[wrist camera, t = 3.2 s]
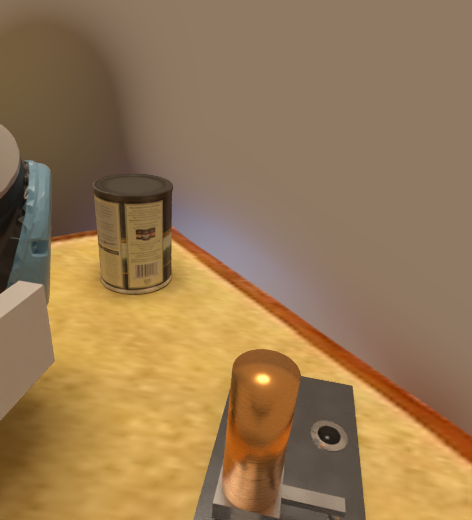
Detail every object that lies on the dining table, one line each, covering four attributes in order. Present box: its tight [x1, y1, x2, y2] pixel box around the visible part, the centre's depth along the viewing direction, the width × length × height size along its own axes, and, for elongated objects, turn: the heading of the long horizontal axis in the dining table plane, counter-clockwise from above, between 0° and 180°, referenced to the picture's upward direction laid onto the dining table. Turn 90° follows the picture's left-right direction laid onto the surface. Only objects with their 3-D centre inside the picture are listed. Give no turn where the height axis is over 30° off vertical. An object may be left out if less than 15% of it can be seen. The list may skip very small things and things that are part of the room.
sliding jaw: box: [212, 349, 346, 520], centre depth 27 cm, size 9×4×12 cm, turn 79°
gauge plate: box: [194, 376, 366, 520], centre depth 32 cm, size 12×24×4 cm, turn 169°
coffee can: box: [92, 174, 173, 294], centre depth 57 cm, size 10×10×14 cm
